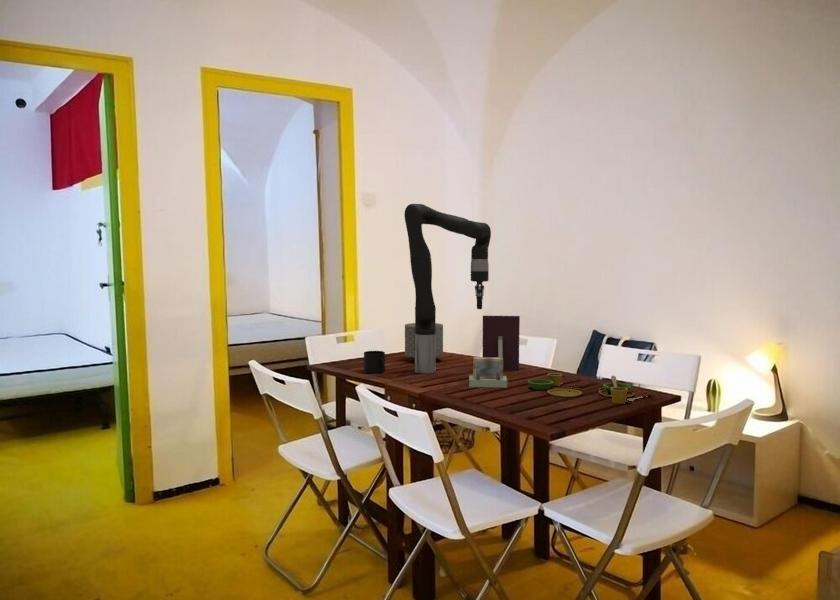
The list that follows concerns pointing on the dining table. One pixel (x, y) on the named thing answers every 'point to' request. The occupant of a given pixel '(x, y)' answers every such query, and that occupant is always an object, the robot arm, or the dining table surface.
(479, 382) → the grey pronged block
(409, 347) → the planter
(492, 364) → the panel
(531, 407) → the dining table surface
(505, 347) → the dark maroon upright block
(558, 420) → the dining table surface
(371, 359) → the mug
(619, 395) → the tableware set
